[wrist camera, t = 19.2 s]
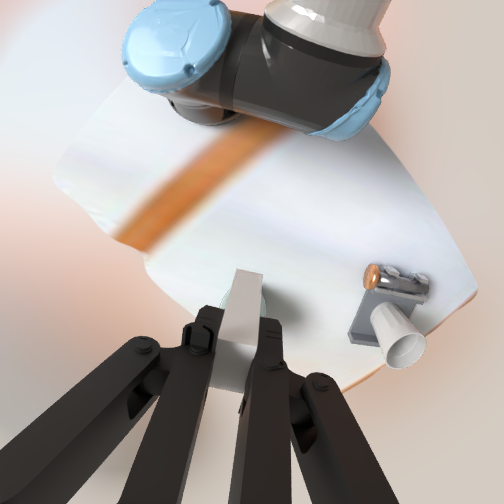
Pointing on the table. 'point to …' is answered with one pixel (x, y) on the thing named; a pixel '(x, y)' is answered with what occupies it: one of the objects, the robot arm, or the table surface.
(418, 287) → the lock pin
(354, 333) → the dock
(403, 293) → the lug rail
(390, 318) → the cup
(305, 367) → the table surface
